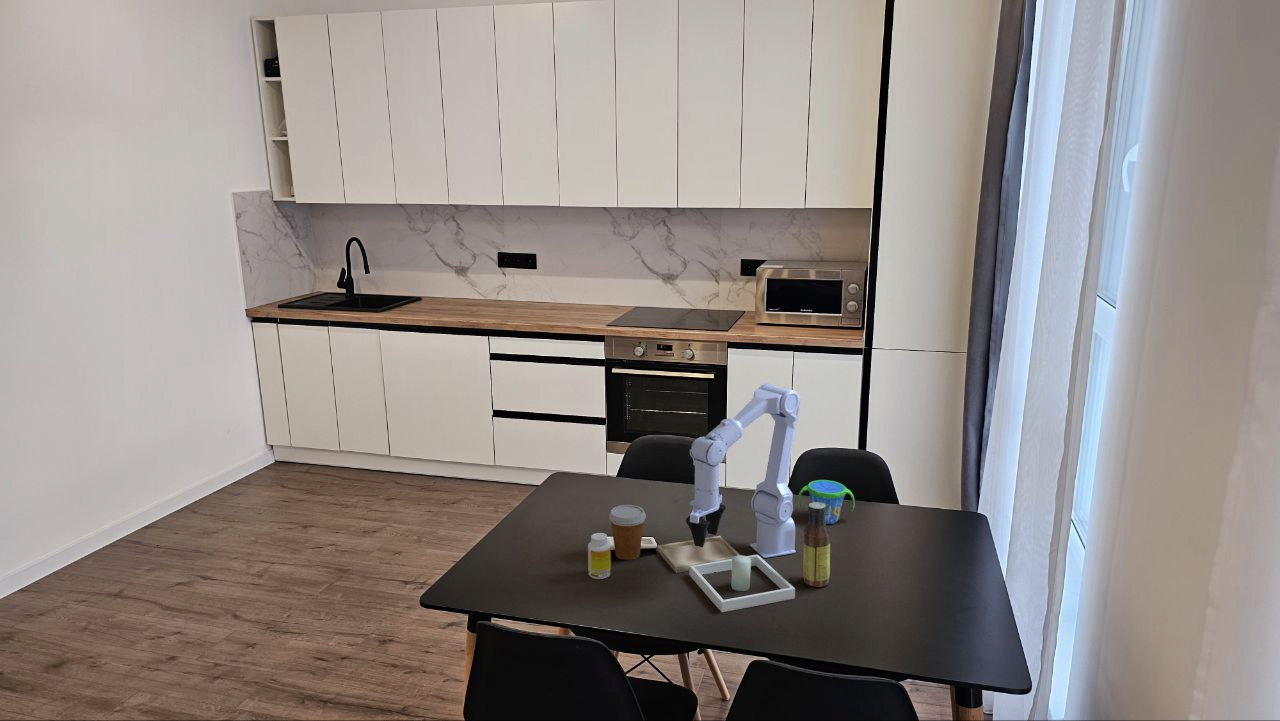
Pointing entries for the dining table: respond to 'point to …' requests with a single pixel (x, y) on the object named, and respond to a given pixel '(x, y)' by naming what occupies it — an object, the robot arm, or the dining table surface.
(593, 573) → the supplement bottle
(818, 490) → the snack cup
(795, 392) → the robot arm
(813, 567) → the sauce bottle
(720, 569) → the white hollow square frame
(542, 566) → the dining table surface
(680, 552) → the birch tray
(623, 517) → the disposable coffee cup
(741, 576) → the sage cylinder
